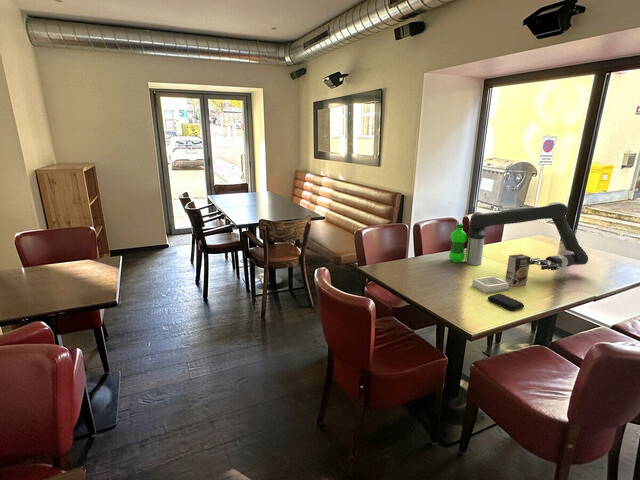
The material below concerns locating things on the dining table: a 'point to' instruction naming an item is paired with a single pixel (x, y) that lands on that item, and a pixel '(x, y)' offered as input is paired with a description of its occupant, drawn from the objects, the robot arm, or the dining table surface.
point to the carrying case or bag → (506, 302)
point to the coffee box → (517, 270)
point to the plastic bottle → (457, 244)
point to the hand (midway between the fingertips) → (534, 265)
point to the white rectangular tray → (490, 284)
